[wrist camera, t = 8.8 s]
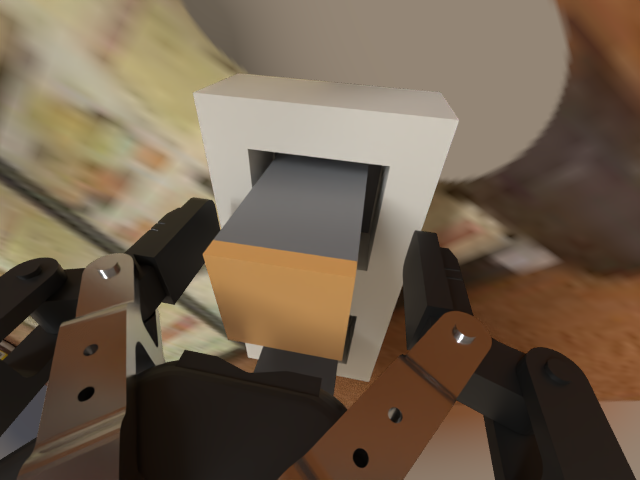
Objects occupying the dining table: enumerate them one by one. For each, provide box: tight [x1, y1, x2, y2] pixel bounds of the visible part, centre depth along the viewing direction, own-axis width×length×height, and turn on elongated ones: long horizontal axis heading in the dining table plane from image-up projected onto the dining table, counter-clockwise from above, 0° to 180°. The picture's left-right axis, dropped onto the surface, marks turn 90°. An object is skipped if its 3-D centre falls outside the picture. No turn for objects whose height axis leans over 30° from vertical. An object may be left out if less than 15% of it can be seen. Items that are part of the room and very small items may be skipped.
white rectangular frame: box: [193, 73, 459, 395], centre depth 14 cm, size 18×9×12 cm, turn 177°
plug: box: [203, 153, 369, 361], centre depth 12 cm, size 4×4×8 cm
